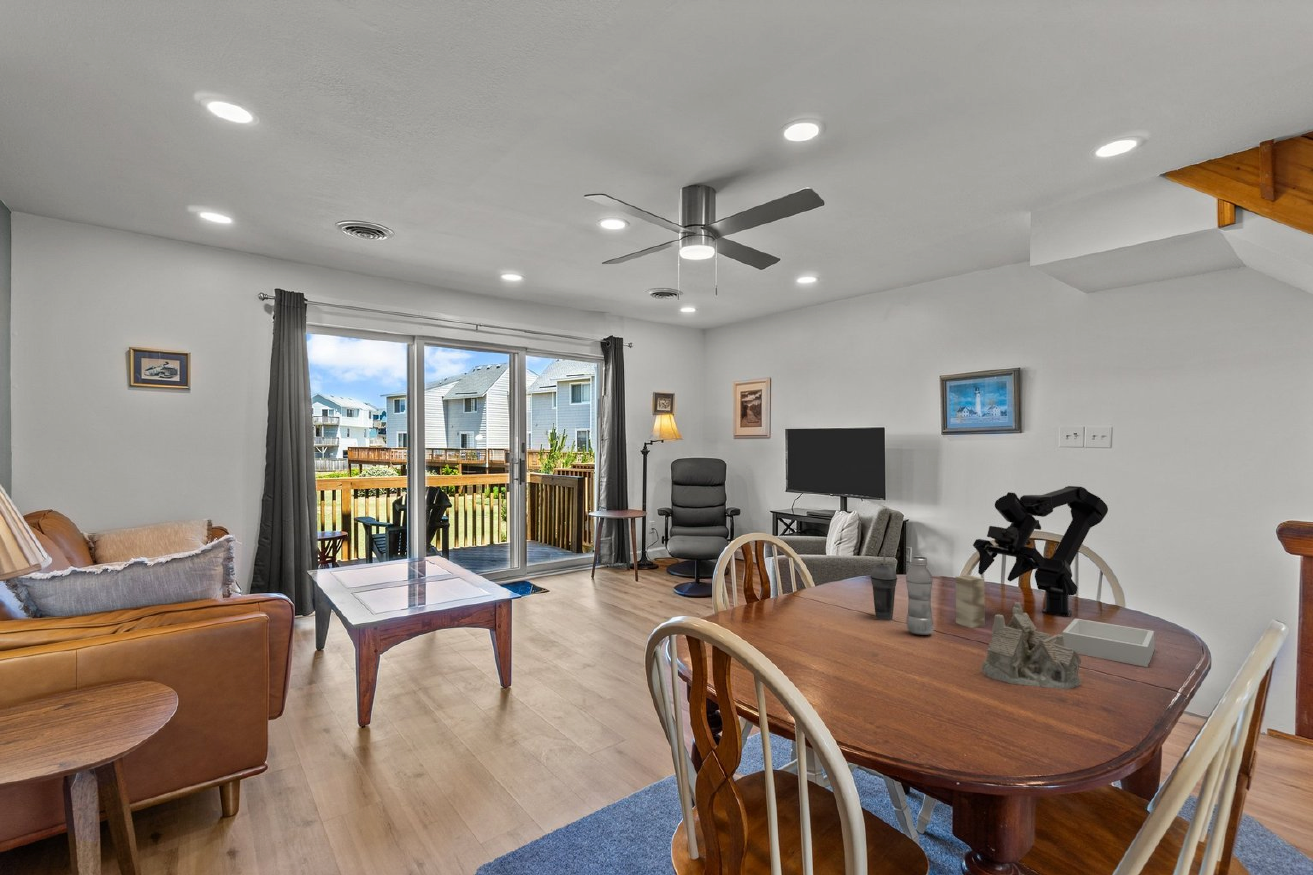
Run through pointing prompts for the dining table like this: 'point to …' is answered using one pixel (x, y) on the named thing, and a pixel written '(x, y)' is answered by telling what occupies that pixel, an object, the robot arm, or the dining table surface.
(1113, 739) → the dining table surface
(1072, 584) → the robot arm
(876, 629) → the dining table surface
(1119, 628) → the box
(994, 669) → the ceramic cottage
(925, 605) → the plastic bottle
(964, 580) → the birch block
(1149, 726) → the dining table surface
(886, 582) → the beverage cup
